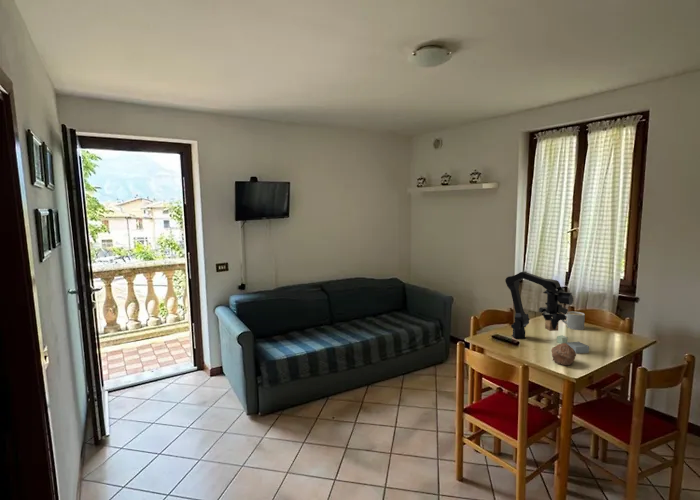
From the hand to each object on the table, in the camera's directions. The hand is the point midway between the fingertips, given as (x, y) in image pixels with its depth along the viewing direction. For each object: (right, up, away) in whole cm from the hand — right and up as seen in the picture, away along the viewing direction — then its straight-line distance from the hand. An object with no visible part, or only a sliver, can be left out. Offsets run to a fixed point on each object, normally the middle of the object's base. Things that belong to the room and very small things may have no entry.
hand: (551, 327), depth 224 cm
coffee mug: (+33, -7, +36) cm, 49 cm away
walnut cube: (0, -1, 0) cm, 1 cm away
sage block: (+9, -11, +6) cm, 15 cm away
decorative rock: (-6, -14, -23) cm, 28 cm away
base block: (+11, -12, -7) cm, 18 cm away
